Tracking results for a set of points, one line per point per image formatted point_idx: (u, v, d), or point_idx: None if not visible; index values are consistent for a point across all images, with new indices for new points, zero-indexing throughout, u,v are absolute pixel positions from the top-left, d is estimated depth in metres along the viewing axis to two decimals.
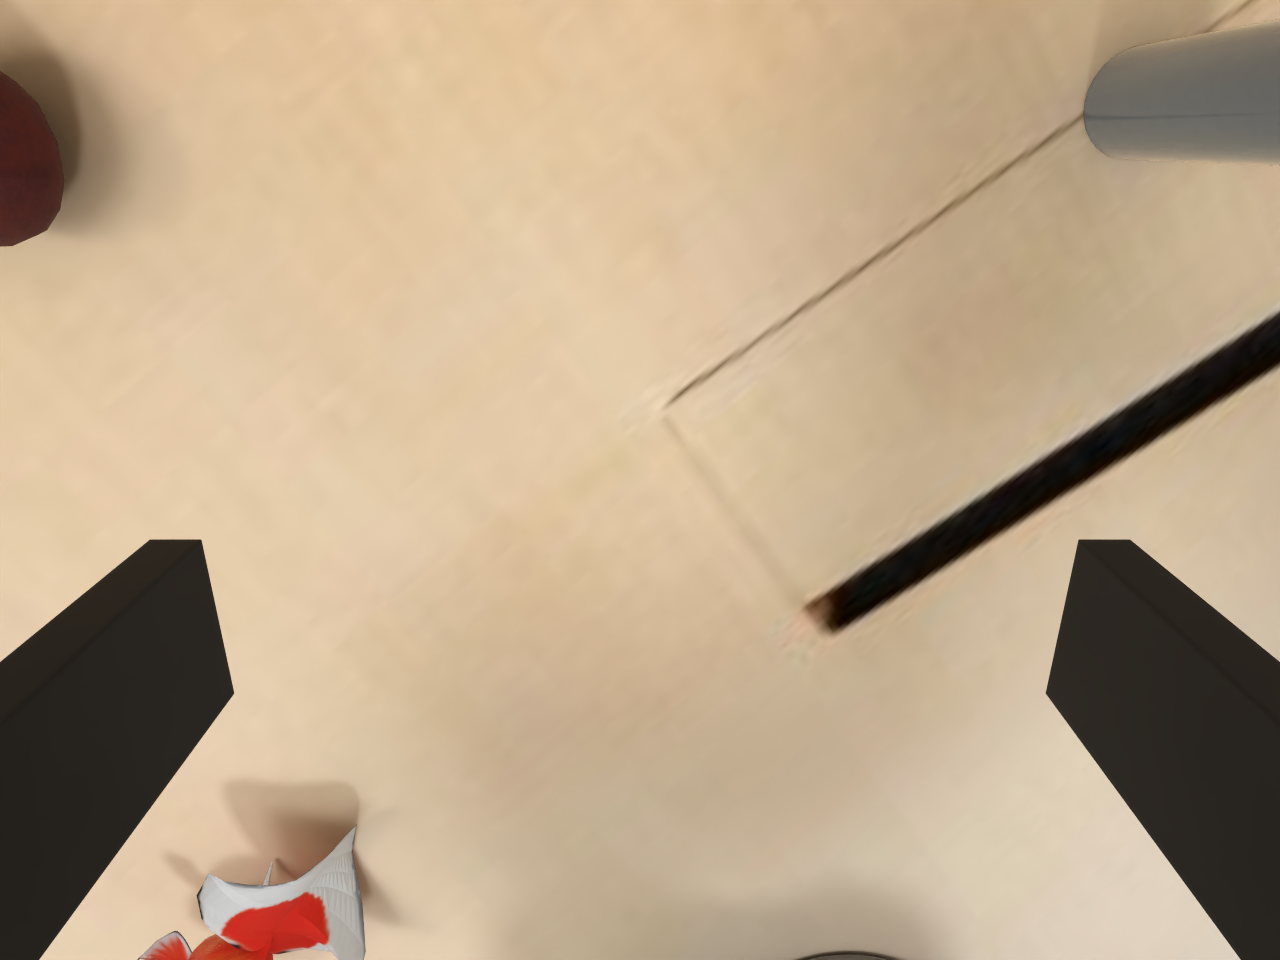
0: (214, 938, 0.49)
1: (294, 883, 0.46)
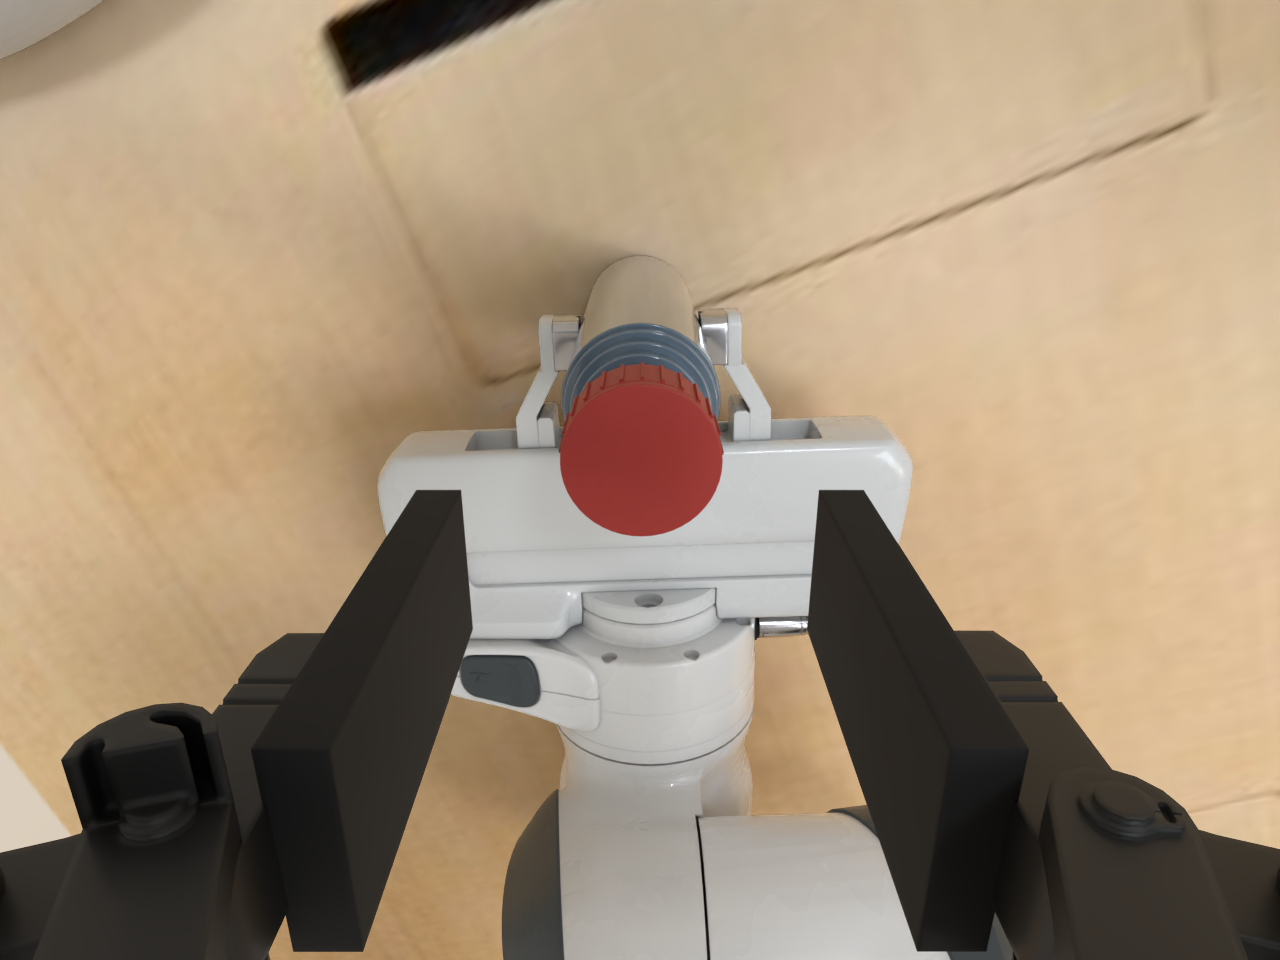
0: None
1: None
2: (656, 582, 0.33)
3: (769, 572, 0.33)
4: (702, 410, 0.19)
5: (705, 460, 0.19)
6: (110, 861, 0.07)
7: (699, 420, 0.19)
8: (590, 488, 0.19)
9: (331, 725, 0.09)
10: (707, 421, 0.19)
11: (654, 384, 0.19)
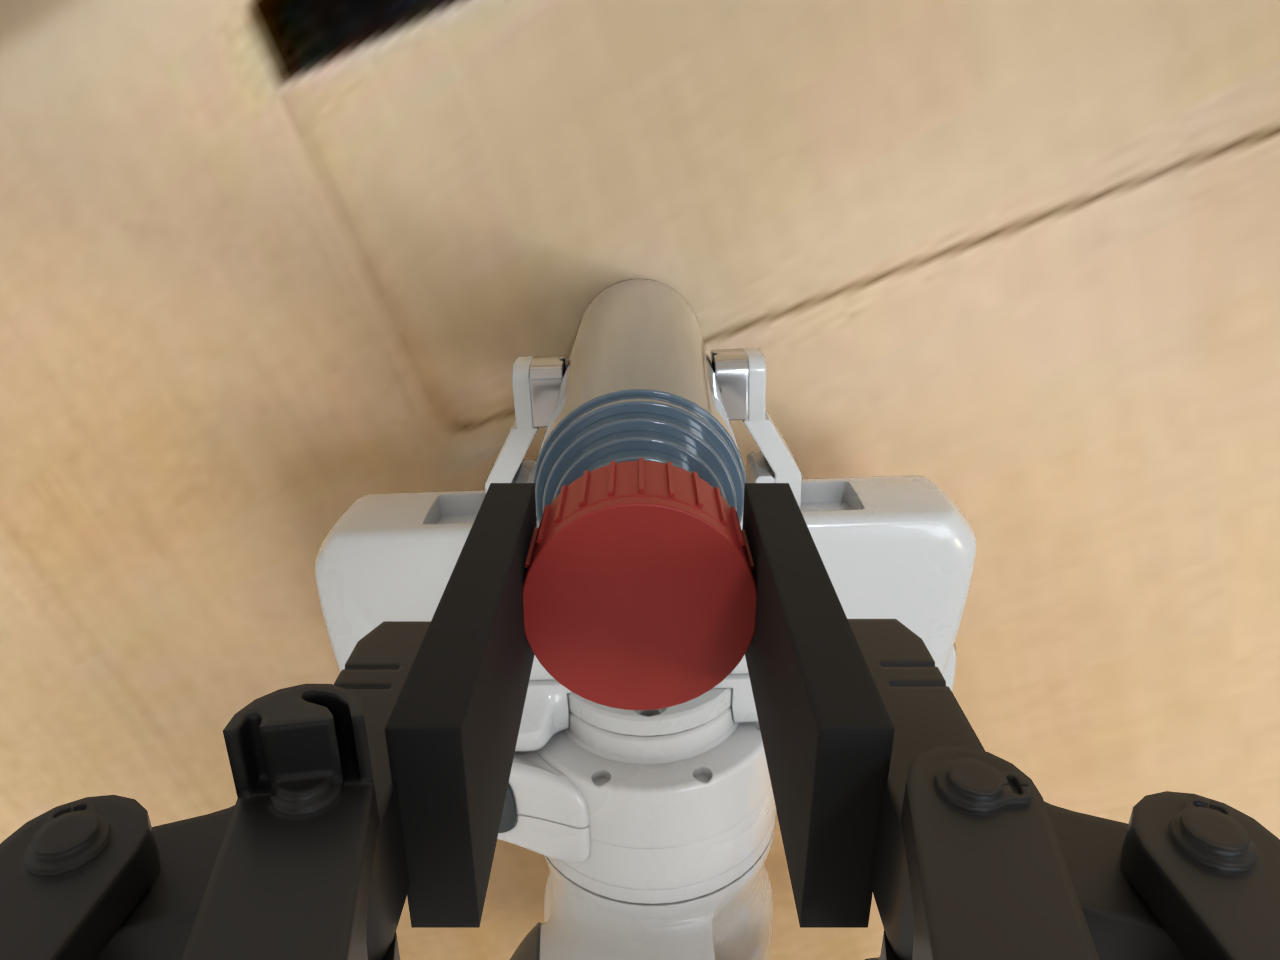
0: None
1: None
2: None
3: None
4: (730, 539, 0.13)
5: (733, 608, 0.13)
6: (263, 832, 0.07)
7: (725, 553, 0.13)
8: (565, 646, 0.13)
9: (457, 706, 0.09)
10: (737, 554, 0.13)
11: (659, 502, 0.13)
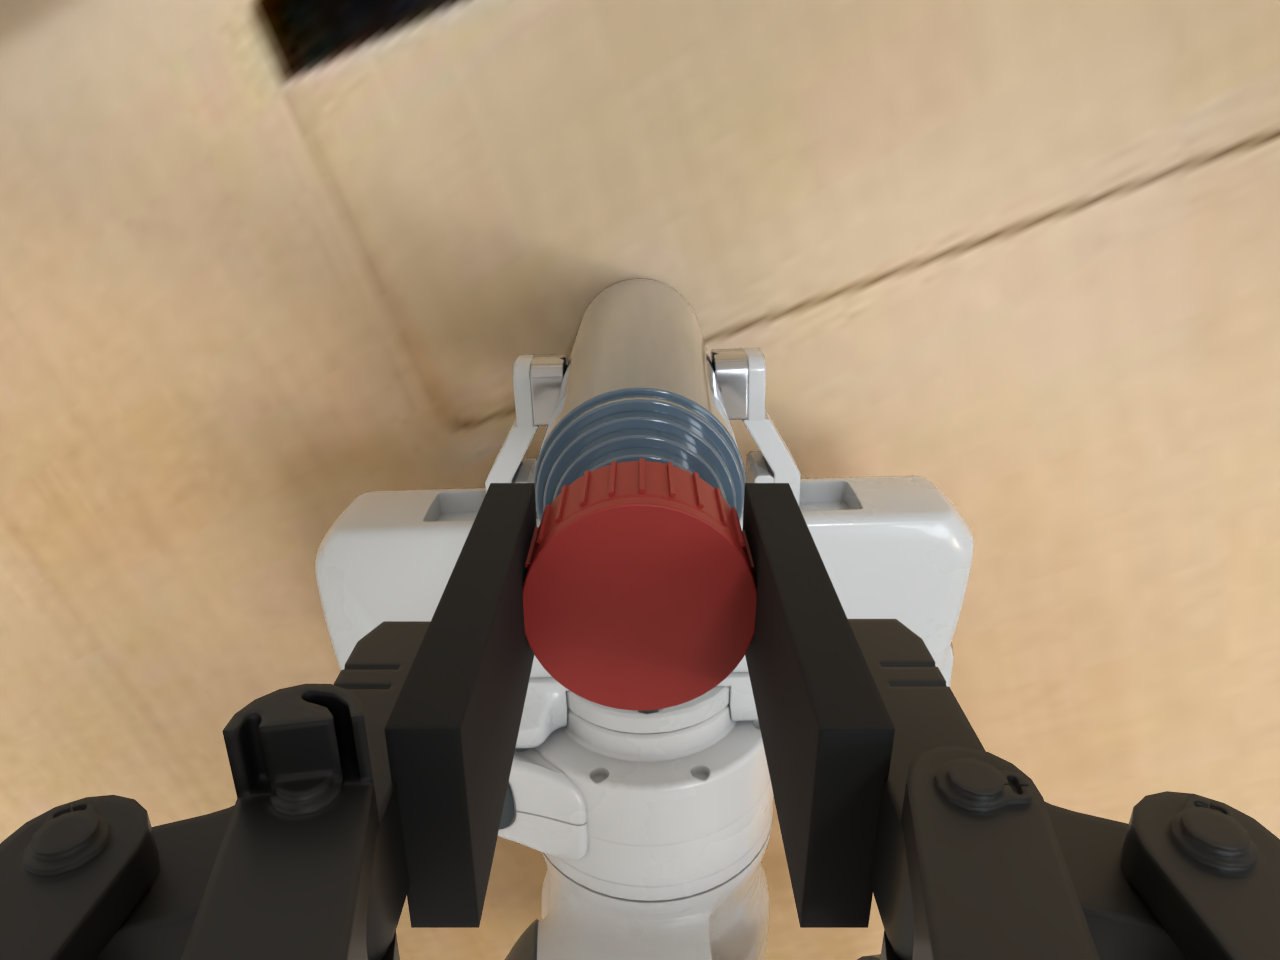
0: None
1: None
2: None
3: None
4: (543, 546, 0.13)
5: (616, 530, 0.13)
6: (262, 832, 0.07)
7: (557, 549, 0.13)
8: (690, 669, 0.13)
9: (457, 706, 0.09)
10: (557, 538, 0.13)
11: None
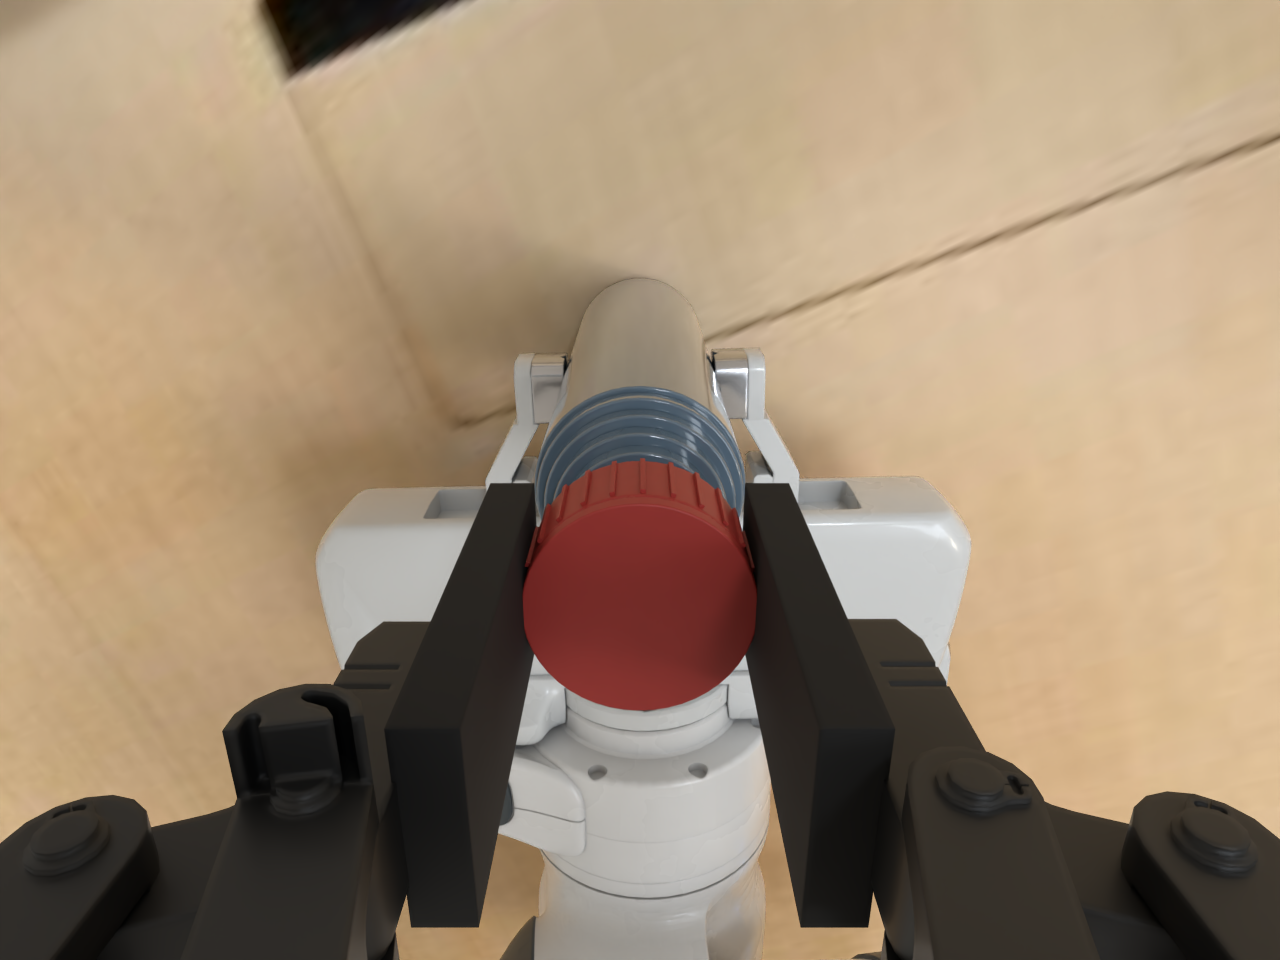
0: None
1: None
2: None
3: None
4: (589, 698, 0.14)
5: (555, 646, 0.13)
6: (262, 832, 0.07)
7: (587, 688, 0.14)
8: (697, 556, 0.13)
9: (456, 706, 0.09)
10: (576, 690, 0.14)
11: (663, 705, 0.14)
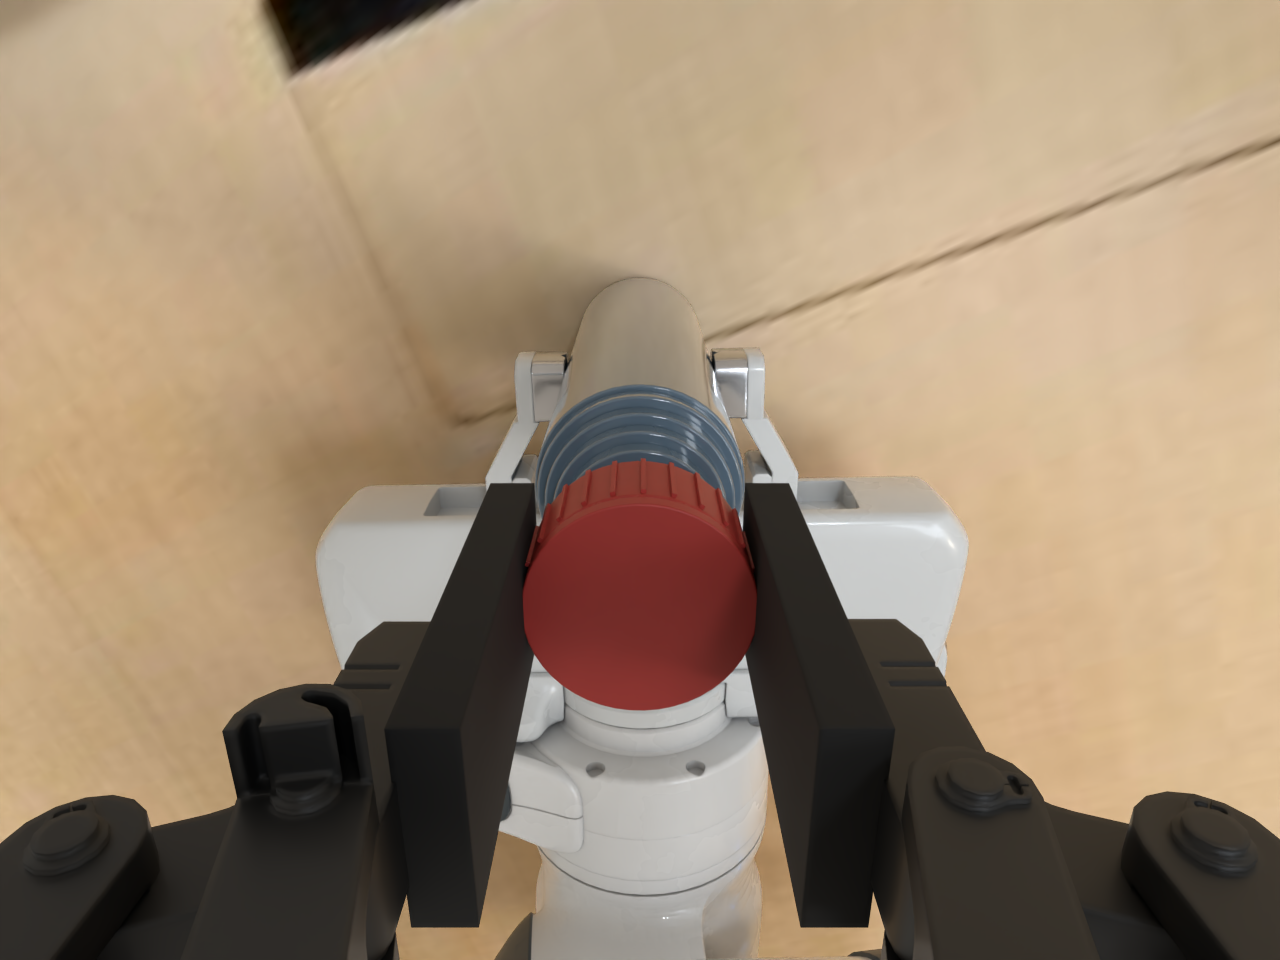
0: None
1: None
2: None
3: None
4: (751, 639, 0.13)
5: (691, 678, 0.14)
6: (262, 832, 0.07)
7: (737, 644, 0.13)
8: (565, 574, 0.13)
9: (456, 706, 0.09)
10: (741, 652, 0.13)
11: (751, 569, 0.13)
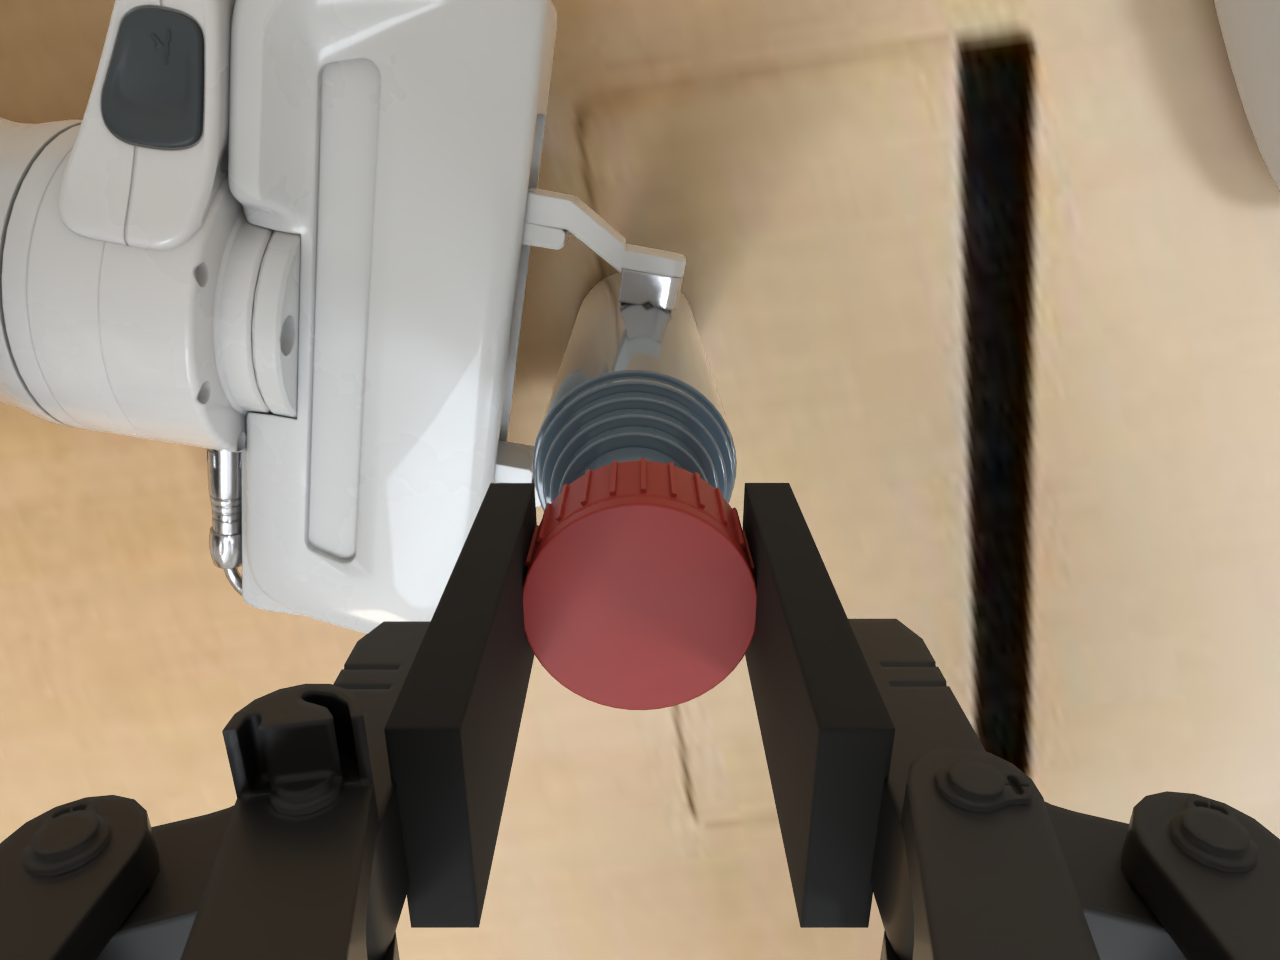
0: None
1: None
2: (309, 343, 0.24)
3: (313, 483, 0.26)
4: (751, 638, 0.13)
5: (691, 678, 0.14)
6: (262, 832, 0.07)
7: (737, 643, 0.13)
8: (565, 574, 0.13)
9: (456, 706, 0.09)
10: (741, 652, 0.13)
11: (751, 569, 0.13)
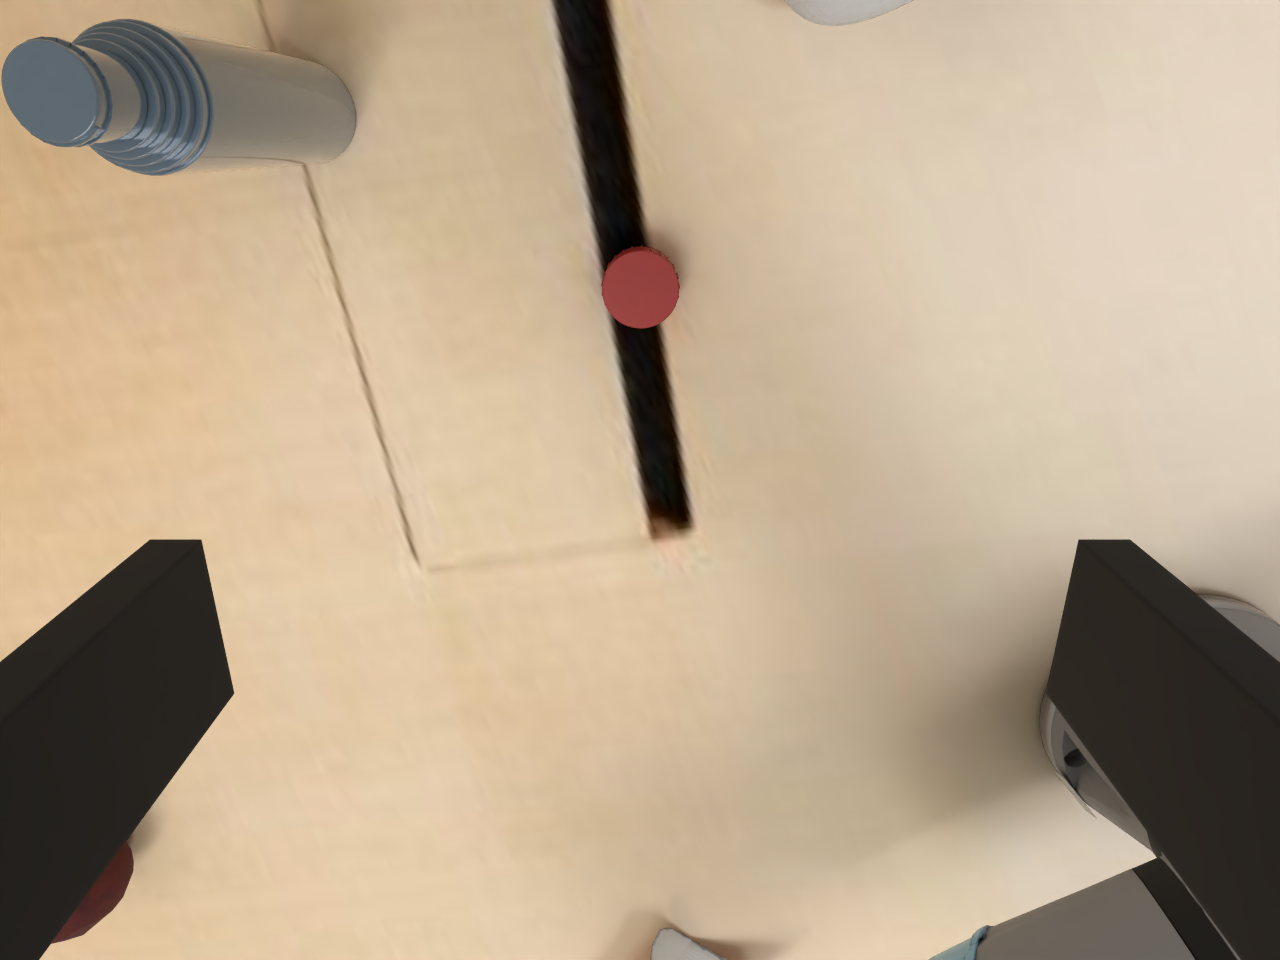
0: None
1: None
2: None
3: None
4: (676, 300, 0.41)
5: (657, 315, 0.41)
6: None
7: (672, 302, 0.41)
8: (617, 276, 0.40)
9: None
10: (673, 305, 0.41)
11: (676, 275, 0.41)
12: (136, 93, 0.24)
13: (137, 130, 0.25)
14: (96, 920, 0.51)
